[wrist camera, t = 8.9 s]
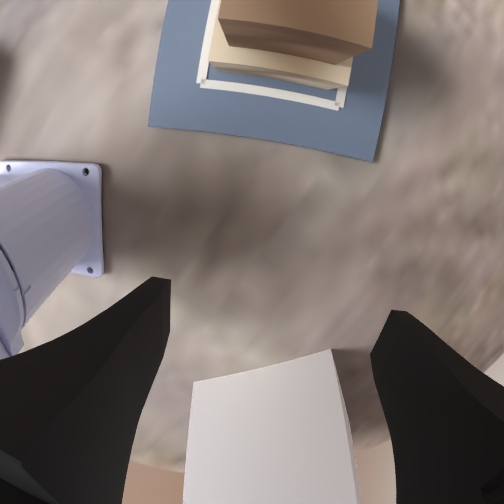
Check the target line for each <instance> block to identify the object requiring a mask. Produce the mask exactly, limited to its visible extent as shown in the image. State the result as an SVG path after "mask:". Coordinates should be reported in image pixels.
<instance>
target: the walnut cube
mask: <svg viewBox="0 0 504 504" xmlns="http://www.w3.org/2000/svg"><path fill="white" fill-rule="evenodd" d="M377 5H378V0H221V4H220V9H219V14H218V20H219V23H220V25H221V28H222V30H223V33H224V35H225V38H226V40H227V43H228V45H229V46H232V47H241V48H249V49H256V50H263V51H269V52H275V53H281V54H287V55H292V56H297V57H302V58H307V59H312V60H316V61H320V62H325V63H329V64H333V65H336V64H338V63H340V62H343V61H345V60H347V59H349V58H351V57H354V56H356V55H358V54H361V53H363V52H365V51H368V50H370V49H372V44H373V37H374V30H375V22H376V14H377Z"/></svg>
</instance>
